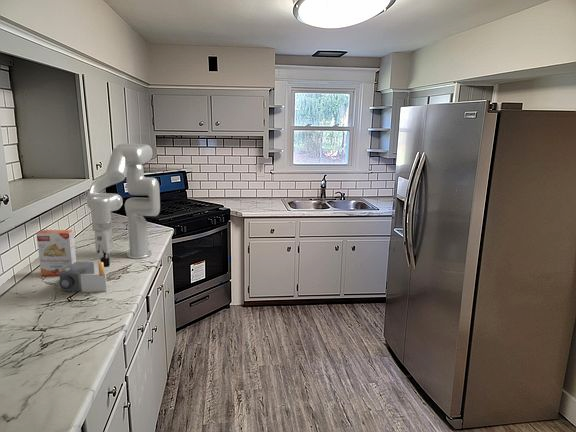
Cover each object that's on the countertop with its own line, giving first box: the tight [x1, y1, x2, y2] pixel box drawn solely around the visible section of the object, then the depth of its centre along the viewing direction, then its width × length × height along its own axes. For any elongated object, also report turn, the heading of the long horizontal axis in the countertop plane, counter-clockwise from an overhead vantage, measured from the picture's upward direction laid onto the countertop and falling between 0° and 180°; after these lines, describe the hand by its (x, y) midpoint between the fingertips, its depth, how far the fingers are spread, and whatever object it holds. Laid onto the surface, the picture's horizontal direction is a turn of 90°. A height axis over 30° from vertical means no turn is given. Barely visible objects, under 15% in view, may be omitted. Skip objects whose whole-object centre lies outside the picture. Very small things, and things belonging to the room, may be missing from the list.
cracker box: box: [36, 229, 77, 277], centre depth 188 cm, size 14×6×21 cm, turn 98°
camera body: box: [58, 261, 95, 292], centre depth 177 cm, size 17×8×9 cm, turn 1°
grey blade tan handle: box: [78, 261, 108, 293], centre depth 170 cm, size 11×2×13 cm, turn 96°
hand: (105, 266), depth 176 cm, fingers closed
